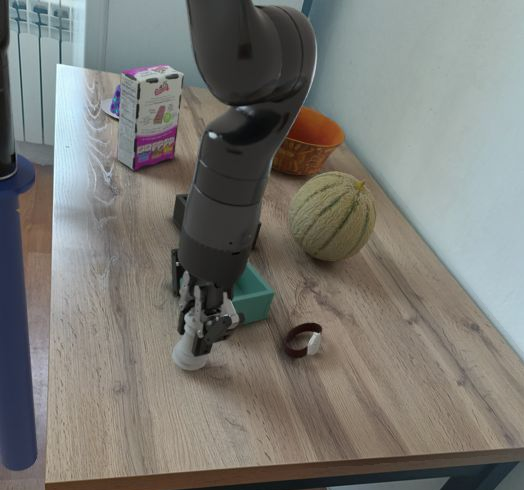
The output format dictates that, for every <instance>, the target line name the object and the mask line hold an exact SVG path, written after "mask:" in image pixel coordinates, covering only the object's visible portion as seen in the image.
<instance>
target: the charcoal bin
mask: <svg viewBox="0 0 524 490" xmlns="http://www.w3.org/2000/svg"><path fill="white" fill-rule="evenodd" d="M187 196H188V193H179V194H175V200H174V207H173V213H172V220H171V221H172V223H173V224H174V225H175V227H176V228H177V229H178V231H180V232H181V229H182V223H183V218H184V212H185V206H186V201H187ZM261 228H262V222H261V221H260V220H259V224H258V227H257V231H256V234H255V238H254V241H253V244H252V248H251V250H254V249H256V245H257V242H258V239H259V236H260V232H261Z"/></svg>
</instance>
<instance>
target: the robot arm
mask: <svg viewBox="0 0 524 490" xmlns="http://www.w3.org/2000/svg"><path fill="white" fill-rule="evenodd" d="M184 3H185V8H186V16H187V25H188V33H189V41H190V48H191V53H192V58H193V62H194V67H195V69H196V71H197V73H198V76H199V77H200V79H201V81H202V83H203V85H204V86H205V87H206V89H207V90H208V91H209V93H210V94H211V95H212V96H213V97H214V98H215V99H216V100H217V101H219V102H220V103H222V104H223V105H225V106H228V108H227V109H226V111H224V112H222V113H221V114H220V115H218V116H217V117H215V118H213V119H211V120H210V121H209V122H208V123H207V124H206V125H205V126H204V128H203V130H202V133H201V135H200V140H199V142H198V143H199V144H198V148H197V154H196V159H195V165H194V170H193V177H192V180H191V185H190V187H189V190H188V193H187V194H188V196H187V201H186V206H185V212H184V218H183V223H182V229H181V231H180V236H179V242H178V247H176V248H171V250H170V263H171V265H170V266H171V282H172V288H171V289H172V295H173V297H174V298H178V297H179V298H178V299H179V300H178V305H177V306H178V309H179V316H178V323H177V328H176V331H177V332H178V334H179V336H184V333H185V329H184V327H185V324H186V322H185V320H184V318H185V315H186V314H187V313H188V312H189V311H191V308H193V307H195V312H194V316H195V318H196V319H197V320H198V322H197V332H196V333H195V338H194V342H193V346H192V351H191V352H192V354H193V355H194V357H198V356H203V355H206V354H207V355H209V354H211V352H212V348H213V345H214V344H216V343H220V342H225V341H228V340H229V339H230V338H231V337H232V336H233V335H234V334H235V332H237V330H238V329H239V328H240V327H241V326H242V325H244V324H243V323H244V322H245V316H244V314H243V313H242V312H239V313H236V311H235V309H234V307H233V304H232V302H231V301H232V300H233V297H234V283H235V282H236V281H237V279H238V278H239V277H240V276H241V275H242V274H243V273H244V271H245V269H246V265H247V262H249V259H250V254H251V251H252V249H251V248H252V244H253V241H254V238H255V234H256V231H257V227H258V224H259V221H260V219H261V215H262V208H263V200H264V196H265V193H266V188H267V185H268V182H269V178H270V175H271V172H272V164H273V160H274V157H275V155H276V153H277V151H278V149H279V148H280V146H281V144H282V143H283V141H284V139H285V138H286V136H287V134H288V132H289V130H290V129H291V127H292V125H293V123H294V121H295V119H296V117H297V115H298V113H299V111H300V109H301V108H302V107H304V103H305V101H306V100H307V97H308V95H309V93H310V90H311V87H312V84H313V82H314V78H315V74H316V69H317V62H318V42H317V36H316V33H315V30H314V27H313V25H312V23H311V21H310V20H309V18H308V17H307V16H306V15H305V14H304V13H303V12H302V11H301V10H299V9H297V8H295V7H292V6H289V5H281V4H270V5H269V4H268V5H267V4H264V5H263V4H256V5H255V4H254V1H253V0H184ZM10 22H11V21H10V0H0V182H1V181H5V180H8V179H10V178H12V177H14V176H15V175H16V173H17V171H18V168H17V154H18V149H17V146H16V138H15V125H14V111H13V99H12V84H11V83H12V82H11V73H10V56H9V50H10V45H11V27H10ZM181 278H183V279H184V280H183V282H182V285H181V286H180V279H181ZM204 310H205V311H204ZM208 321H212V324H211V325H207V326H206V323H207V322H208Z"/></svg>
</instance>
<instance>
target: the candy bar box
mask: <svg viewBox="0 0 524 490" xmlns="http://www.w3.org/2000/svg"><path fill="white" fill-rule="evenodd" d="M184 77H185V73H183V72H181V71H179V70H178V69H176V68H174V67H172V66H171V65H168V64H160V65H153V66H146V67H140V68H133V69H127V70H121V71H120V84H119V85H120V107H119V119H118V131H117V133H118V135H117V152H116V153H117V157H116V160H117V161H118V162H119V163H121V164H122V165H124V166H126V167H128V168H129V169H130V170H131V171H138V170H142V169H145V168H147V167H151V166H154V165H157V164H160V163H164V162H166V161H169V160H173V159H174V158H175V152H176V144H177V138H178V137H177V135H178V127H179V119H180V113H181V112H180V111H181V103H182V94H183V87H184V79H185V78H184Z"/></svg>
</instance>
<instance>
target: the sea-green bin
mask: <svg viewBox="0 0 524 490" xmlns="http://www.w3.org/2000/svg"><path fill="white" fill-rule="evenodd" d="M183 280H184V279H183V278H181V279H180V286H181V285H182V282H183ZM170 283H171V284H170V289H172V281H171V282H170ZM275 294H276V292H275V291H274V290H273V288H272V287H271V286H270V285H269V283H268V282H267V281H266V280H265V279H264V278H263V276H261V274H260V273H259V272H258V271H257V270H256V268H255V267H254V266H253V265H252V263H250V262H249V261H248V262H247V265H246V269H245V271H244V273H243V274H242V275H241V276H240V277H239V278H238V279H237V281H236V282H235V283H234V297H233V300H232V301H231V302H232V304H233V307H234V309H235V311H236V313H239V312H242V313H243V314H244V316H245V322H244V323H243V324H242V325H246V324H250V323H254V322H258V321H262V320H266V319H267V318H268V315H269V313H270V309H271V306H272V304H273V303H272V302H273V299H274V297H275ZM177 298H178V299H179V297H177ZM211 324H212V321H211Z"/></svg>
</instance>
